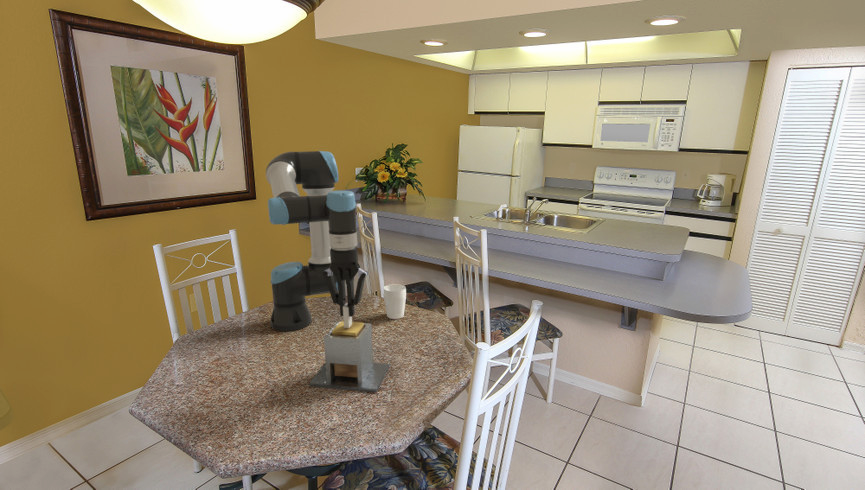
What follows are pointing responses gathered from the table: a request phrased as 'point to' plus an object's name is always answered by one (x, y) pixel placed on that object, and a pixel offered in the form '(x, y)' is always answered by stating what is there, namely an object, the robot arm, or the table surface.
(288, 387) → the table surface
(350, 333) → the block
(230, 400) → the table surface
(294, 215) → the robot arm
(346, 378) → the chute
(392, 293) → the cup
